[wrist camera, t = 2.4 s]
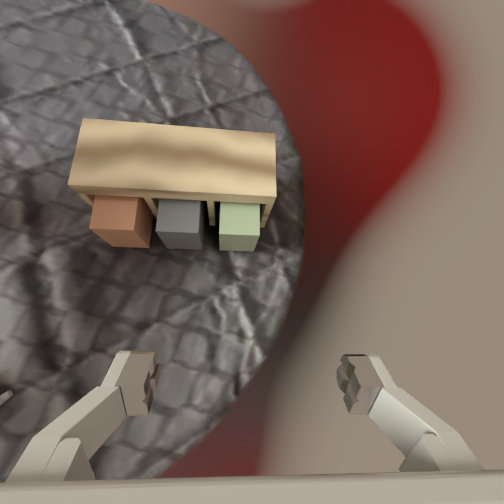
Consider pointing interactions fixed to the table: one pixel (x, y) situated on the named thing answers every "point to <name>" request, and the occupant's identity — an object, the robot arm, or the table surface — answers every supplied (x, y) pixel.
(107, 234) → the terracotta key
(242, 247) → the sage key
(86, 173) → the key console
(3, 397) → the mobile phone
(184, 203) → the slate key
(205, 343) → the table surface
